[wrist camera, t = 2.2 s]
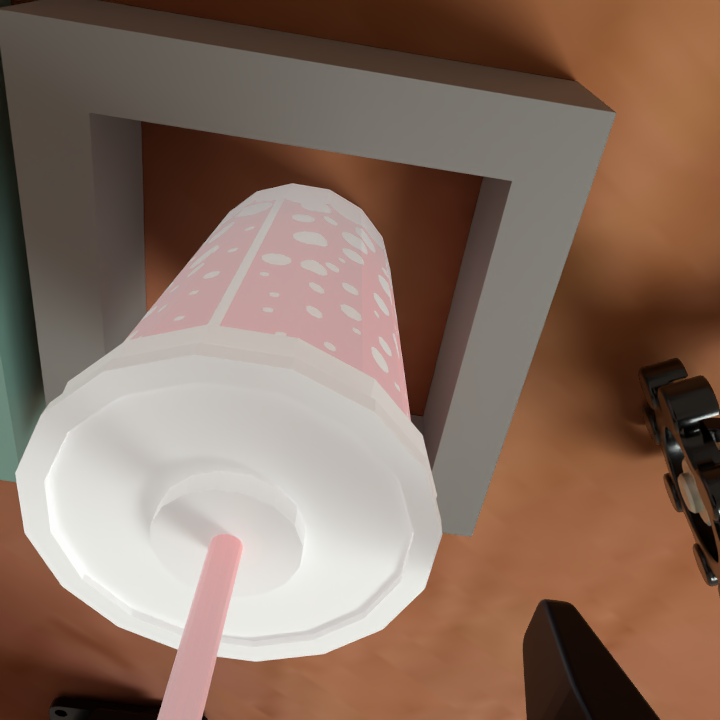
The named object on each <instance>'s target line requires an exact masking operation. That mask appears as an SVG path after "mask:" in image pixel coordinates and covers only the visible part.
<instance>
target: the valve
mask: <svg viewBox="0 0 720 720" xmlns="http://www.w3.org/2000/svg"><path fill="white" fill-rule="evenodd" d="M638 375H639V380H640V383H641V387H642V390H643V392H644V395H645V397H646V400H647V402H648V404H649V405H647V406H644V407H643V409H642V412H643V417H644V420H645V423H646V426H647V429H648V431H649V434H650V436H651V438H652V440H653V442H654V443H655V444H659V445H660V447H661V450H662V452H663V455H664V458H665V461H666V464H667V467H668V471H669V473H666V474H664V477H663V479H664V483H665V487H666V490H667V493H668V496H669V498H670V500H671V503H672V505H673V507H674V509H675V510H676V511H677V512H684V514H685V516H686V519H687V521H688V523H689V526H690V528H691V531H692V533H693V536H694V539H695V542H696V543H695V544H694V545H693V552H694V556H695V559H696V562H697V565H698V567H699V570H700V572H701V574H702V577H703V579H704V580H705V582H706V584H707V585H709V586H715V585H718V592H719V596H720V418H709V417H713V416H716V415H719V414H720V409H719V405H718V402H717V399H716V396H715V394H714V391H713V389H712V387H711V385H710V384H709V382H708V381H707V379H706V378H705V377H704V376H701V375H700V376H696V377H693V378H689V379H685V380H683V379H684V378H686V377H687V376H688V374H687V372H686V369H685V367H684V365H683V364H682V362H681V361H680V360H679V359H678V358H673V359H669V360H666V361H663V362H659V363H656V364H653V365H649V366H646V367H642V368H640V369H639V371H638ZM715 443H716V444H715Z"/></svg>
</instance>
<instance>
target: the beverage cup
mask: <svg viewBox="0 0 720 720" xmlns="http://www.w3.org/2000/svg"><path fill="white" fill-rule="evenodd" d="M15 475H16V482H17V488H18V494H19V500H20V507H21V513H22V519H23V526H24V532H25V534H26V536H27V537H28V539H29V540H30V541H31V543H32V544H33V546H34V547H35V548H36V550H37V551H38V553H39V554H40V556H41V557H42V558H43V560H44V561H45V563H46V564H47V565H48V567H49V568H50V570H51V571H52V573H53V574H54V575H55V577H56V578H57V580H58V581H59V583H60V584H61V585H62V586H63V587H64V588H65V589H67V590H68V591H69V592H71V593H72V594H74V595H75V596H76V597H78V598H79V599H81V600H82V601H83V602H85V603H86V604H87V605H89V606H90V607H92V608H93V609H94V610H96V611H97V612H99V613H100V614H101V615H103V616H104V617H105V618H107V619H108V620H110V621H111V622H112V623H114V624H115V625H117V626H118V627H120V628H123V629H125V630H128V631H131V632H133V633H136V634H139V635H141V636H144V637H146V638H149V639H152V640H154V641H157V642H160V643H162V644H165V645H167V646H170V647H173V648H175V649H178V651H177V655H176V658H175V661H174V665H173V668H172V671H171V675H170V678H169V681H168V685H167V688H166V692H165V695H164V698H163V702H162V705H161V708H160V712H159V715H158V718H157V720H202V716H203V712H204V707H205V703H206V699H207V695H208V691H209V687H210V683H211V679H212V674H213V670H214V666H215V662H216V658H217V657H225V658H232V659H240V660H248V661H255V662H256V661H265V660H274V659H283V658H292V657H301V656H310V655H319V654H325V653H327V652H330V651H332V650H334V649H337V648H339V647H342V646H344V645H346V644H349V643H351V642H354V641H356V640H358V639H361V638H363V637H366V636H368V635H370V634H373V633H375V632H378V631H380V630H382V629H383V628H385V627H386V626H387V625H388V624H389V623H390V622H391V621H392V620H393V619H394V618H395V617H396V616H397V615H398V614H399V613H400V612H401V611H402V610H403V609H404V608H405V607H406V606H407V605H408V604H409V603H410V602H411V601H412V600H414V599H415V598H416V597H417V596H418V595H419V594H420V593H421V592H422V591H423V590H424V589H425V586H426V583H427V580H428V577H429V574H430V571H431V568H432V565H433V561H434V558H435V555H436V552H437V549H438V546H439V543H440V540H441V536H442V525H441V518H440V513H439V509H438V505H437V501H436V497H437V493H436V489H435V484H434V480H433V476H432V472H431V468H430V464H429V460H428V456H427V451H426V447H425V443H424V439H423V435H422V434H421V433H420V432H419V430H418V429H417V428H416V427H415V426H414V424H413V423H412V422H411V418H410V410H409V403H408V396H407V389H406V381H405V374H404V367H403V359H402V352H401V345H400V338H399V330H398V323H397V316H396V308H395V301H394V294H393V287H392V279H391V272H390V267H389V262H388V258H387V254H386V250H385V245H384V241H383V237H382V236H381V235H380V233H379V232H378V230H377V229H376V228H375V226H374V225H373V224H372V222H371V221H370V220H369V218H368V217H367V216H366V214H365V213H364V212H363V210H362V209H361V208H359V207H358V206H356V205H354V204H353V203H351V202H349V201H348V200H346V199H344V198H343V197H341V196H339V195H338V194H336V193H334V192H333V191H331V190H329V189H323V188H317V187H311V186H305V185H299V184H294V183H292V184H287V185H283V186H278V187H274V188H270V189H265V190H261V191H257V192H255V193H254V194H253V195H251V196H250V197H249V198H247V199H246V200H245V201H243V202H242V203H241V204H239V205H238V206H237V207H235V208H234V209H233V210H231V211H230V212H229V213H228V214H227V215H226V217H225V218H224V219H223V220H222V222H221V223H220V224H219V225H218V226H217V228H216V229H215V230H214V231H213V233H212V234H211V235H210V236H209V238H208V239H207V240H206V241H205V242H204V244H203V245H202V246H201V247H200V249H199V250H198V251H197V252H196V254H195V255H194V256H193V257H192V258H191V260H190V261H189V262H188V263H187V265H186V266H185V267H184V268H183V269H182V271H181V272H180V273H179V274H178V276H177V277H176V278H175V279H174V281H173V282H172V283H171V284H170V285H169V287H168V288H167V289H166V290H165V292H164V293H163V294H162V295H161V296H160V298H159V299H158V300H157V301H156V303H155V304H154V305H153V306H152V308H151V309H150V310H149V311H148V312H147V314H146V315H145V316H144V317H143V319H142V320H141V321H140V322H139V324H138V325H137V326H136V327H135V328H134V330H133V331H132V332H131V333H130V335H129V336H128V337H127V338H126V339H125V341H124V342H123V343H122V344H120V345H119V346H118V347H116V348H115V349H113V350H112V351H111V352H109V353H108V354H106V355H105V356H104V357H102V358H101V359H99V360H98V361H97V362H95V363H94V364H92V365H91V366H89V367H88V368H87V369H85V370H84V371H82V372H81V373H80V374H78V375H77V376H75V377H74V378H73V379H71V380H70V381H68V382H67V385H66V387H65V389H64V391H63V393H62V394H61V395H60V396H58V397H57V398H56V399H54V400H53V401H51V402H50V403H49V405H48V406H47V407H46V409H45V410H44V411H43V413H42V414H41V416H40V418H39V420H38V423H37V425H36V427H35V429H34V432H33V434H32V436H31V438H30V441H29V443H28V445H27V447H26V450H25V452H24V454H23V456H22V459H21V461H20V463H19V466H18V468H17V470H16V472H15Z"/></svg>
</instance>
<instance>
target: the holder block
mask: <svg viewBox="0 0 720 720" xmlns="http://www.w3.org/2000/svg"><path fill="white" fill-rule="evenodd" d="M0 48H1V56H2V64H3V72H4V80H5V87H6V95H7V103H8V111H9V119H10V126H11V134H12V142H13V150H14V158H15V166H16V173H17V181H18V189H19V197H20V205H21V213H22V220H23V228H24V236H25V244H26V252H27V260H28V267H29V275H30V283H31V291H32V299H33V307H34V314H35V322H36V330H37V338H38V346H39V354H40V361H41V369H42V377H43V385H44V393H45V401H46V407H47V406H48V405H49V403H50V402H51V401H53V400H54V399H56V398H57V397H58V396H60V395H61V394H62V393H63V391H64V389H65V387H66V385H67V382H68V381H70V380H71V379H73V378H74V377H75V376H77V375H78V374H80V373H81V372H82V371H84V370H85V369H87V368H88V367H89V366H91V365H92V364H94V363H95V362H97V361H98V360H99V359H101V358H102V357H104V356H105V355H106V354H108V353H109V352H111V351H112V350H113V349H115V348H116V347H118V346H119V345H120V344H122V343H123V342H124V341H125V339H126V338H127V337H128V336H129V335H130V333H131V332H132V331H133V330H134V328H135V327H136V326H137V325H138V324H139V322H140V321H141V320H142V319H143V317H144V316H145V315H146V285H145V246H144V206H143V167H142V128H141V121H144V122H151V123H157V124H163V125H169V126H175V127H182V128H188V129H194V130H200V131H206V132H212V133H219V134H225V135H231V136H237V137H243V138H249V139H256V140H262V141H268V142H274V143H280V144H286V145H293V146H299V147H305V148H311V149H317V150H324V151H330V152H336V153H342V154H348V155H354V156H361V157H367V158H373V159H379V160H385V161H391V162H398V163H404V164H410V165H416V166H422V167H428V168H435V169H441V170H447V171H453V172H459V173H466V174H472V175H478V176H483V180H482V184H481V187H480V191H479V195H478V199H477V203H476V207H475V211H474V215H473V219H472V223H471V227H470V231H469V235H468V239H467V243H466V247H465V251H464V255H463V259H462V263H461V267H460V271H459V275H458V279H457V283H456V287H455V291H454V295H453V299H452V303H451V307H450V311H449V315H448V319H447V323H446V327H445V331H444V335H443V339H442V343H441V347H440V351H439V355H438V359H437V363H436V367H435V371H434V375H433V378H432V382H431V386H430V390H429V394H428V398H427V402H426V406H425V410H424V414H423V416H417V415H410V418H411V422H412V423H413V424H414V426H415V427H416V428H417V429H418V430H419V432H420V433H421V434H422V435H423V439H424V443H425V447H426V451H427V456H428V460H429V464H430V468H431V472H432V476H433V480H434V484H435V489H436V493H437V497H436V501H437V505H438V509H439V513H440V518H441V525H442V533H448V534H455V535H462V536H469V537H472V534H473V531H474V528H475V525H476V522H477V519H478V516H479V513H480V510H481V508H482V505H483V502H484V499H485V496H486V493H487V490H488V487H489V484H490V481H491V478H492V475H493V472H494V469H495V467H496V464H497V461H498V458H499V455H500V452H501V449H502V446H503V443H504V440H505V437H506V434H507V431H508V429H509V426H510V423H511V420H512V417H513V414H514V411H515V408H516V405H517V402H518V399H519V396H520V393H521V391H522V388H523V385H524V382H525V379H526V376H527V373H528V370H529V367H530V364H531V361H532V358H533V355H534V352H535V350H536V347H537V344H538V341H539V338H540V335H541V332H542V329H543V326H544V323H545V320H546V317H547V314H548V312H549V309H550V306H551V303H552V300H553V297H554V294H555V291H556V288H557V285H558V282H559V279H560V276H561V273H562V271H563V268H564V265H565V262H566V259H567V256H568V253H569V250H570V247H571V244H572V241H573V238H574V235H575V233H576V230H577V227H578V224H579V221H580V218H581V215H582V212H583V209H584V206H585V203H586V200H587V197H588V194H589V192H590V189H591V186H592V183H593V180H594V177H595V174H596V171H597V168H598V165H599V162H600V159H601V156H602V154H603V151H604V148H605V145H606V142H607V139H608V136H609V133H610V130H611V127H612V124H613V121H614V118H615V116H616V112H615V111H613V110H612V109H611V108H610V107H608V106H607V105H606V104H605V103H604V102H602V101H601V100H600V99H599V98H597V97H596V96H595V95H594V94H592V93H591V92H590V91H589V90H587V89H586V88H585V87H584V86H582V85H581V84H580V83H579V82H577V81H571V80H565V79H559V78H553V77H547V76H541V75H535V74H529V73H524V72H518V71H512V70H506V69H500V68H494V67H488V66H482V65H476V64H470V63H465V62H459V61H453V60H447V59H441V58H435V57H429V56H423V55H417V54H411V53H406V52H400V51H394V50H388V49H382V48H376V47H370V46H364V45H358V44H352V43H347V42H341V41H335V40H329V39H323V38H317V37H311V36H305V35H299V34H294V33H288V32H282V31H276V30H270V29H264V28H258V27H252V26H246V25H240V24H235V23H229V22H223V21H217V20H211V19H205V18H199V17H193V16H187V15H181V14H176V13H170V12H164V11H158V10H152V9H146V8H140V7H134V6H128V5H123V4H117V3H111V2H105V1H99V0H38V1H33V2H27V3H22V4H17V5H12V6H7V7H1V8H0Z"/></svg>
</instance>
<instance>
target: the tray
mask: <svg viewBox="0 0 720 720" xmlns="http://www.w3.org/2000/svg"><path fill="white" fill-rule="evenodd" d="M7 6H11V1H10V0H0V8H1V7H7ZM45 409H46V401H45V393H44V385H43V377H42V369H41V361H40V354H39V346H38V338H37V330H36V322H35V314H34V307H33V299H32V291H31V283H30V275H29V267H28V260H27V252H26V244H25V236H24V228H23V220H22V213H21V205H20V197H19V189H18V181H17V173H16V166H15V158H14V150H13V142H12V134H11V126H10V119H9V111H8V103H7V95H6V87H5V80H4V72H3V64H2V56H1V48H0V480H5V481H12V482H16V475H15V472H16V470H17V468H18V466H19V463H20V461H21V459H22V456H23V454H24V452H25V450H26V447H27V445H28V443H29V441H30V438H31V436H32V434H33V432H34V429H35V427H36V425H37V423H38V420H39V418H40V416H41V414H42V413H43V411H44V410H45Z"/></svg>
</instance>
